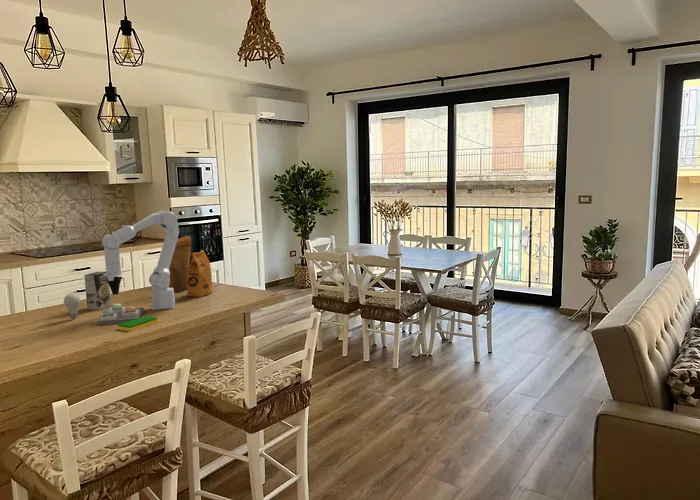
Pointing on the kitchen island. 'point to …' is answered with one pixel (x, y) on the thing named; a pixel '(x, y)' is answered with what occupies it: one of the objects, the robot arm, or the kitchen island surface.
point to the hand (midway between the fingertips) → (115, 294)
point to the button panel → (120, 316)
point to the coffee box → (97, 291)
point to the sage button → (116, 307)
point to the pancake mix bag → (180, 264)
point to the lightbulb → (72, 304)
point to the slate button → (107, 313)
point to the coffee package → (199, 275)
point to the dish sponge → (137, 323)
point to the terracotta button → (130, 309)
